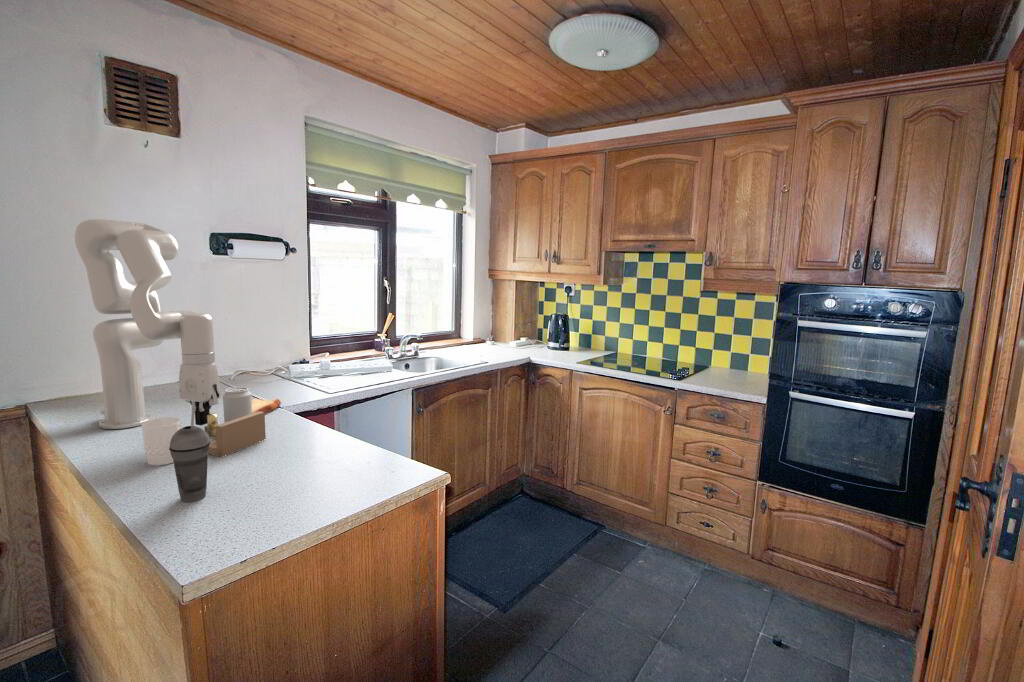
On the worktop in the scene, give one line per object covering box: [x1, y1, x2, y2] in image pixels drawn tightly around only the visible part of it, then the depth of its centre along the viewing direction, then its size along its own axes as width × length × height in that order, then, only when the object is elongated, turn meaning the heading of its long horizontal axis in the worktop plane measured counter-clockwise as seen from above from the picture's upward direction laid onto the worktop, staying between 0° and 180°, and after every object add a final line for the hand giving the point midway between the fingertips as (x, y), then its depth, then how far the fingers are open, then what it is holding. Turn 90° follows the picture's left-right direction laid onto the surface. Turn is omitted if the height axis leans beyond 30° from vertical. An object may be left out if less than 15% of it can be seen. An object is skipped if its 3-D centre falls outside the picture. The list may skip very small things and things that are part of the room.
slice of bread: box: [252, 397, 282, 415], centre depth 165 cm, size 18×18×4 cm
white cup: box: [140, 416, 182, 466], centre depth 123 cm, size 8×8×10 cm
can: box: [222, 386, 253, 423], centre depth 148 cm, size 8×8×12 cm
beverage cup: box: [169, 405, 210, 503], centre depth 104 cm, size 7×7×20 cm
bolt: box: [207, 412, 219, 436], centre depth 135 cm, size 9×2×6 cm, turn 72°
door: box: [181, 411, 267, 457], centre depth 137 cm, size 26×14×8 cm, turn 72°
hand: (202, 423), depth 137 cm, fingers closed
